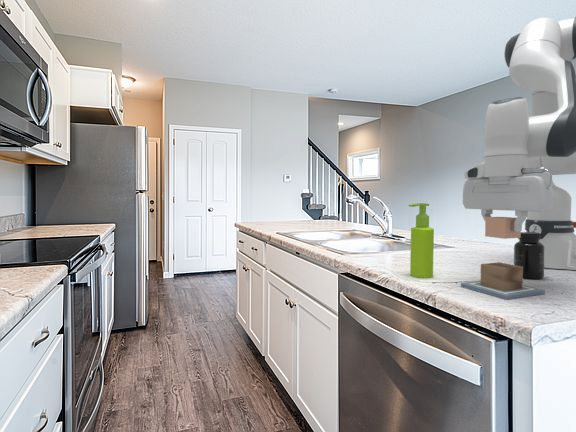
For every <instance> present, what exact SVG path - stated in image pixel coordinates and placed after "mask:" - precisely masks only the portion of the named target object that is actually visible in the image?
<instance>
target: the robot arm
mask: <svg viewBox="0 0 576 432" xmlns="http://www.w3.org/2000/svg"><path fill="white" fill-rule="evenodd" d="M503 56H504V60H505V64H506V66H507V67H508V68H509V69H508V70H509V71H508V73H509V77H510V79H511V81H512V82H513V83H514V84H515V85H516V86H518V87H520V88H522V89H524V90H528V91H531V98H530V99H531V101H530V103H531V104H530V105H531V106H530V115H529V107H528V106H529V104H528V101H527V98H526V97H523V96H518V97H517V96H516V97H510V98H504V99H498V100H495V101H492V102H491V103H489V104H488V106H487V110H486V114H485V120H484V128H483V129H484V130H483V131H484V132H483V141H484V144H485V145H484V146H485V150H484V153H483V157H482V159H483V160H482V162H480V163H479V164H476V165H475V166H473V167H470V168H468V169H466V170H465V171H464V174H463V175H464V179H466V180H465V182H464V184H463V188H462V205H463V207H464V208H465V209H466V210H468V209H469V210H480V211H481V212H480V214H481V216H482V218H483V220H484V223H485V226H486V217H492V215H493V211H511V212H514V216H515V218H516V220H515V222H514V223H510V227H511V228H510V230H511V231H515V232H523V224H524V230H525V232H536V233H540V240H539V242H540V243H541V244H543V246H544V269H556V270H557V269H558V270H571V271H576V234H575V233H574V232H575V229H576V221H573V220H572V218H571V216H572V196H571V195H570V193H569V192H568V191H567V190H566V189H564V188H561V187H559V186H557V185H556V184H555V183H554V181H553V176H559V175H560V176H563V175H576V68H575V63H574V60H576V16H575V17H573V18H567V19H562V20H561V19H560V20H556V19H554V18H552V17H539V18H535V19H533V20H532V21H530V22H528V23H527V24H526V25H525V26H524V27H523V29H522V30H521V32H520V33H517V34H515V35H514V36H512V37H510V39H509V40H508V41H507V42H506V44H505V48H504V55H503ZM524 222H525V223H524ZM485 226H484V227H485Z"/></svg>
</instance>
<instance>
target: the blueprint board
mask: <svg viewBox="0 0 576 432" xmlns="http://www.w3.org/2000/svg"><path fill="white" fill-rule="evenodd" d="M480 282H481V280H477V281H468V282H462V283H460V287H461V288H465V289H468V290H472V291H475V292H479V293H482V294H486V295H489V296H492V297H495V298H499V299H503V300H506V301H507V300H512V299H513V300H514V299H520V298H527V297H534V296H539V295H540V296H541V295H545V293H546V291H545V289H542V288H541V289H540V288H536V287H532V286H528V285H523V284H522V289H515V290H508V291H501V290H498V289H494V288H490V287H486V286H483V285H480Z"/></svg>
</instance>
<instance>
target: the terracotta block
mask: <svg viewBox="0 0 576 432" xmlns="http://www.w3.org/2000/svg"><path fill="white" fill-rule="evenodd" d="M516 218H517V217H512V216H511V217H508V216H491V217H486V226H484V227H485V229H484V230H485V232H484V233H485V234H484V237H489V238H495V239H496V238H497V239H503V240H505V239H506V240H507V239H518V238H520V236H521V232H522V231H521V232H515V231H511V230H510V228H511V227H510V223H514V222H515V220H516Z"/></svg>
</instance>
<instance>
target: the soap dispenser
mask: <svg viewBox="0 0 576 432" xmlns="http://www.w3.org/2000/svg"><path fill="white" fill-rule="evenodd" d="M408 206H409V207H412V208H413V207H417V206H419V207H418V210H419V211H418V212H419V213H418V214H417V215H415V227H414V226H413V227H411V228H410V263H409V264H410V268H409V269H410V272H409V273H410V277H413V278H417V279H418V278H419V279H429V278H430V279H431V278H433V277H434V250H435V249H434V244H435V243H434V239H435V238H434V237H435V233H434V230H435V229H434V228H433V227H430V215H428V214H427V207H428V206H430V204H429V203H423V202H415V203H410V204H408Z"/></svg>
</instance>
